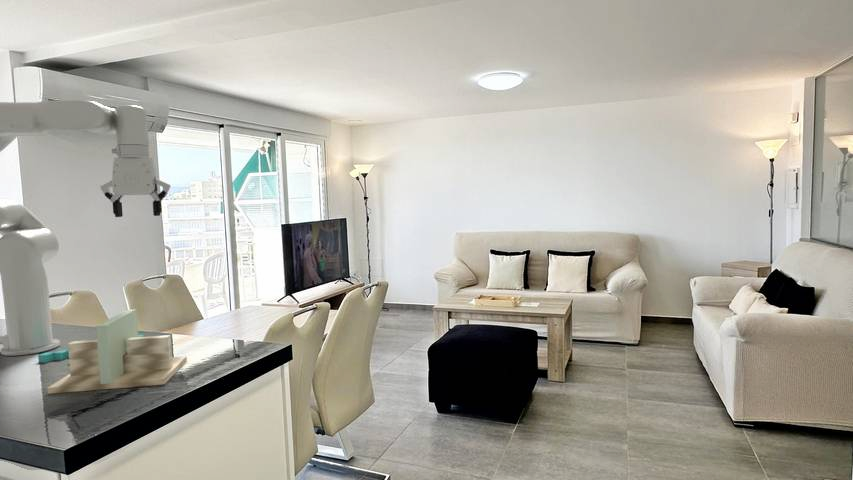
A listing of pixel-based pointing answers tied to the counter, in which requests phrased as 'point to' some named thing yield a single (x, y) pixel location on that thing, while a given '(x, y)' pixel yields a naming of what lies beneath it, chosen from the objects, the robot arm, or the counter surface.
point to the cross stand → (140, 364)
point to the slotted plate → (115, 343)
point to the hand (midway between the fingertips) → (138, 216)
